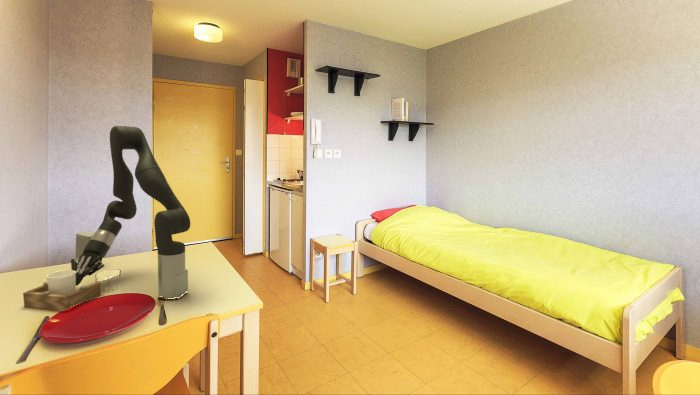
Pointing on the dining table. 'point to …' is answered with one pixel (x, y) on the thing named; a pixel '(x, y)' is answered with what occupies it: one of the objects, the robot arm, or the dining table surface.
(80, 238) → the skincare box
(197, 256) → the dining table surface
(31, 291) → the wooden tray
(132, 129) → the robot arm
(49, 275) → the white cup
